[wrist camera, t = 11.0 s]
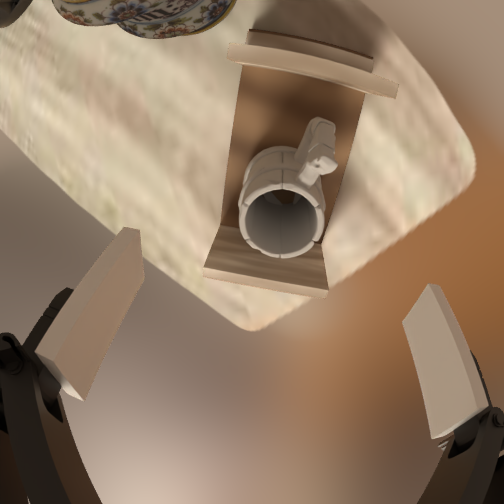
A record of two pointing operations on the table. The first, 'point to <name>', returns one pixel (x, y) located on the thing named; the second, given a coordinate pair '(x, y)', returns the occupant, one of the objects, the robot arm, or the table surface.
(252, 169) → the mug
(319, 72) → the shelf
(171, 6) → the apothecary jar
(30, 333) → the robot arm
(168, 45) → the table surface
